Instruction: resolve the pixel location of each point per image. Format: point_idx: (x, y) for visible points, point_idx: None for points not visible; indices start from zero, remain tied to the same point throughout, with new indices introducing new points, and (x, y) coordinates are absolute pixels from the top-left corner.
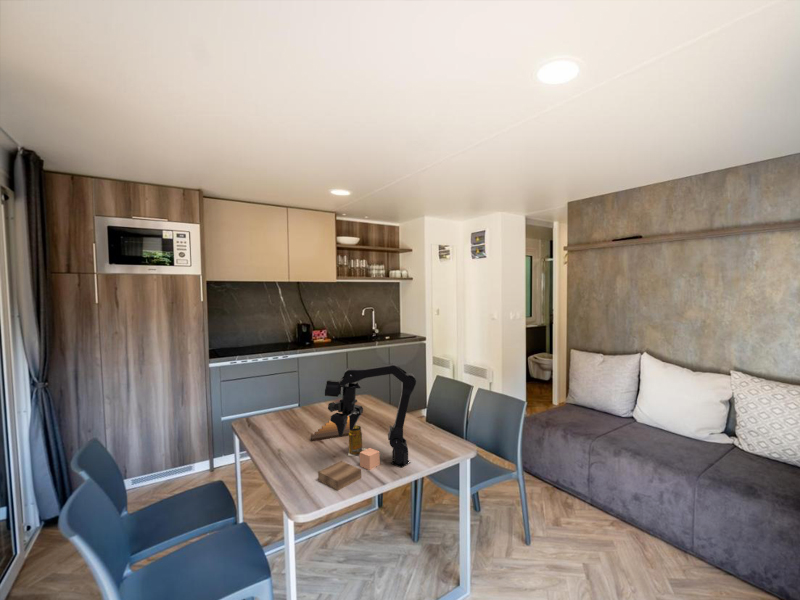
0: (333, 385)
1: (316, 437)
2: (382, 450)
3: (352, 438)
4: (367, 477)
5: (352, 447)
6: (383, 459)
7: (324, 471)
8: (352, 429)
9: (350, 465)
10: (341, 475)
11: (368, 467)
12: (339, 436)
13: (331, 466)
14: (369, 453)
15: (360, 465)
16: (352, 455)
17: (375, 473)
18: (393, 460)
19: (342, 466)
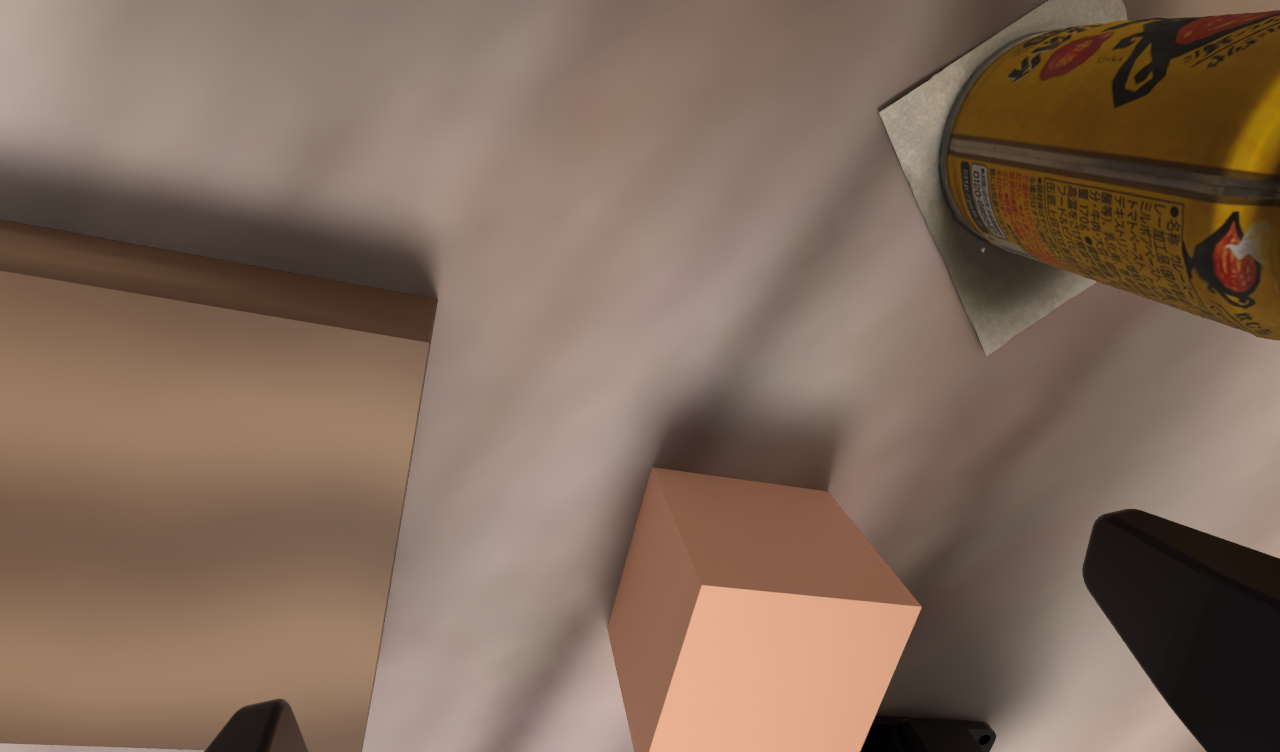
0: None
1: None
2: (1153, 455)
3: (1150, 197)
4: (435, 705)
5: (1013, 168)
6: (920, 599)
7: None
8: (1121, 595)
9: (374, 574)
10: (4, 667)
11: (617, 625)
12: (244, 717)
13: (132, 327)
14: (728, 721)
15: (651, 482)
16: (907, 175)
17: (566, 717)
18: (888, 745)
19: (265, 493)
